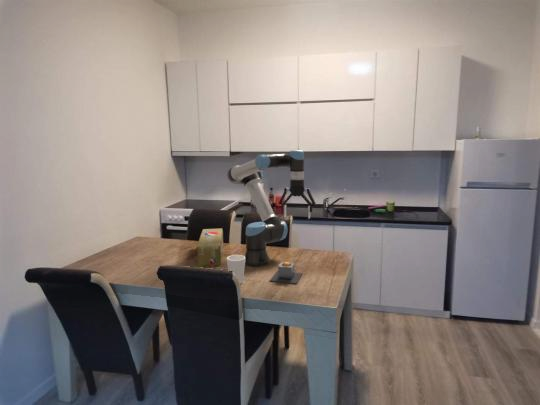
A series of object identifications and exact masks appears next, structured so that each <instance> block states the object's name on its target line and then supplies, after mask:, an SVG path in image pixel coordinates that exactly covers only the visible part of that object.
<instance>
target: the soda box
mask: <svg viewBox="0 0 540 405" xmlns="http://www.w3.org/2000/svg"><path fill="white" fill-rule="evenodd" d="M223 250H224V231H223V228H203V229H202V231H201V233H200V236H199V239H198V243H197V246H196V251H197V252H196V253H197V268H205V267H206V268H207V267H209V268H210V267H221V266H222V261H223V260H222V259H223V252H224V251H223Z"/></svg>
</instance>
